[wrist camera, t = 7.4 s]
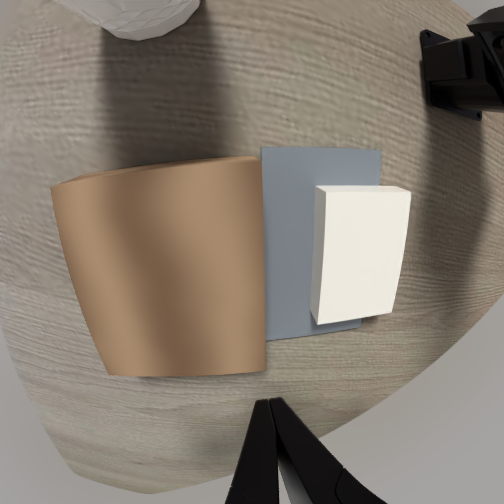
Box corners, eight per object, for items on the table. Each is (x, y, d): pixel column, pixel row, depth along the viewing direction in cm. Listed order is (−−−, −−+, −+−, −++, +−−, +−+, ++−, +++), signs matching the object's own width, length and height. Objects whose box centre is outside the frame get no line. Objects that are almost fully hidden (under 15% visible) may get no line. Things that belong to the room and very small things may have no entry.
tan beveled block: (252, 155, 17) (261, 161, 13) (258, 333, 22) (265, 370, 18) (81, 175, 16) (50, 187, 12) (121, 340, 21) (108, 375, 17)
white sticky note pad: (326, 192, 15) (315, 185, 17) (317, 324, 19) (309, 308, 21) (411, 192, 16) (395, 186, 18) (391, 312, 19) (379, 298, 21)
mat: (378, 150, 17) (381, 150, 17) (359, 325, 22) (360, 327, 22) (260, 147, 16) (261, 147, 16) (265, 338, 22) (265, 340, 22)
